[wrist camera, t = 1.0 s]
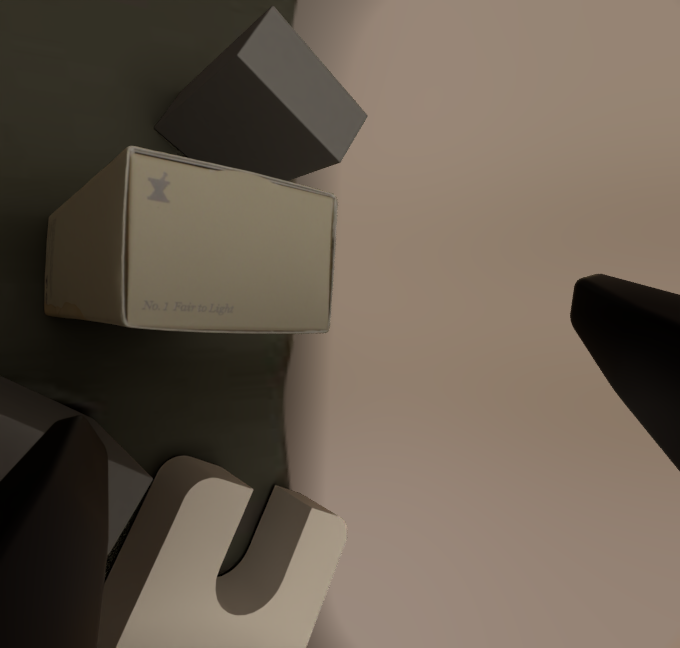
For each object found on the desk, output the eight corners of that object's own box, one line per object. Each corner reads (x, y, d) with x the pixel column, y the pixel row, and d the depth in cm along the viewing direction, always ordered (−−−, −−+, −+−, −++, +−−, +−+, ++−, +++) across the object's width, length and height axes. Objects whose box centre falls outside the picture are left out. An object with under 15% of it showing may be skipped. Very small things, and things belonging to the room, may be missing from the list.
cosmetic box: (42, 316, 21) (106, 335, 11) (47, 209, 21) (117, 136, 11) (189, 322, 25) (333, 341, 15) (194, 232, 25) (342, 192, 15)
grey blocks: (61, 469, 22) (108, 555, 15) (-65, 419, 19) (-83, 496, 12) (259, 163, 27) (368, 115, 19) (181, 91, 24) (273, 4, 17)
